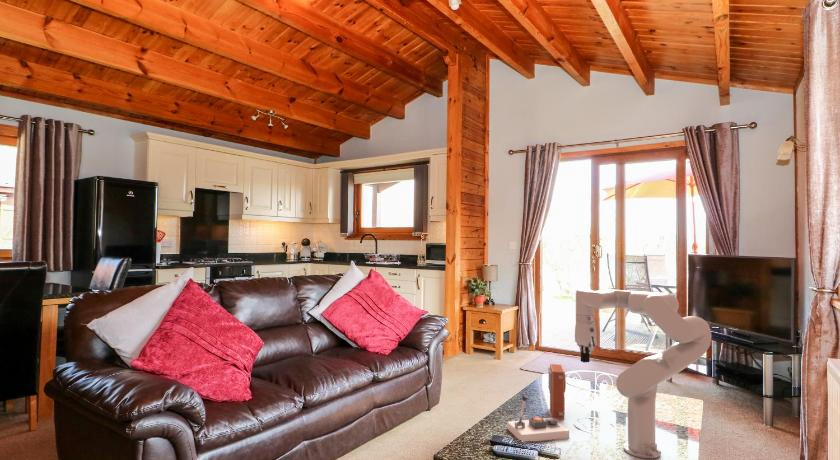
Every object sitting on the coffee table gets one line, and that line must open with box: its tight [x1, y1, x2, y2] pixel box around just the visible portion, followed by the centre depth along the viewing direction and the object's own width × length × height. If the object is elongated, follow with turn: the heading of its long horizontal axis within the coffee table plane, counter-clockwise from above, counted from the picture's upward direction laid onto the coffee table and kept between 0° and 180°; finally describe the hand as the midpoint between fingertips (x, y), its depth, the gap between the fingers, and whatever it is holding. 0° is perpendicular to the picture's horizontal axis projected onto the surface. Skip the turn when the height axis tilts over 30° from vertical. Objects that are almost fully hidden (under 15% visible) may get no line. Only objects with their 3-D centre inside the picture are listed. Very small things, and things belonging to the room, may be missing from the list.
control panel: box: [547, 363, 567, 420], centre depth 216 cm, size 21×7×15 cm
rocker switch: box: [547, 419, 559, 424], centre depth 195 cm, size 4×3×1 cm
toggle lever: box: [517, 395, 528, 426], centre depth 190 cm, size 2×2×14 cm
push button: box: [532, 416, 543, 422], centre depth 194 cm, size 4×4×2 cm
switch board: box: [506, 416, 570, 443], centre depth 194 cm, size 14×21×6 cm, turn 103°
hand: (585, 361), depth 197 cm, fingers closed
